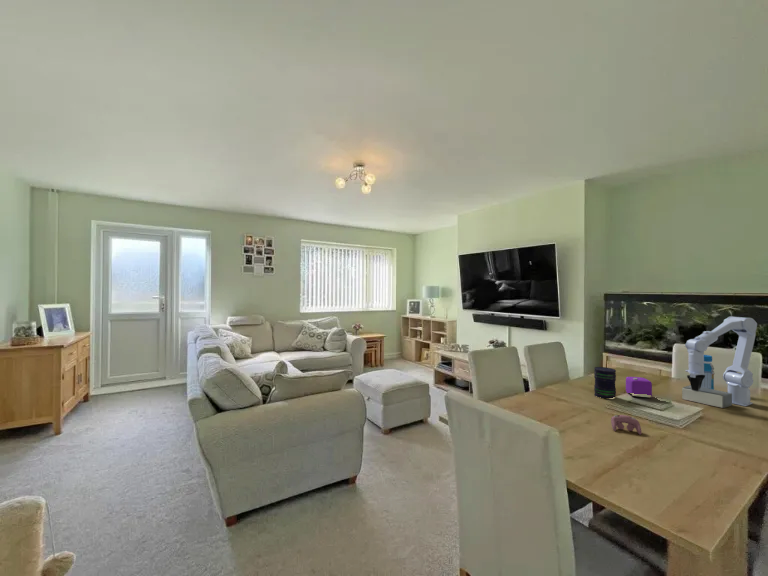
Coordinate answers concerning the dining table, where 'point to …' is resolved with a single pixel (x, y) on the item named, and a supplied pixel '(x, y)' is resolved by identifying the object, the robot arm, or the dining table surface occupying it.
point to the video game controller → (620, 419)
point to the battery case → (726, 395)
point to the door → (703, 397)
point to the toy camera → (638, 385)
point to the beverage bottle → (708, 373)
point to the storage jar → (604, 382)
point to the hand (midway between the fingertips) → (696, 389)
